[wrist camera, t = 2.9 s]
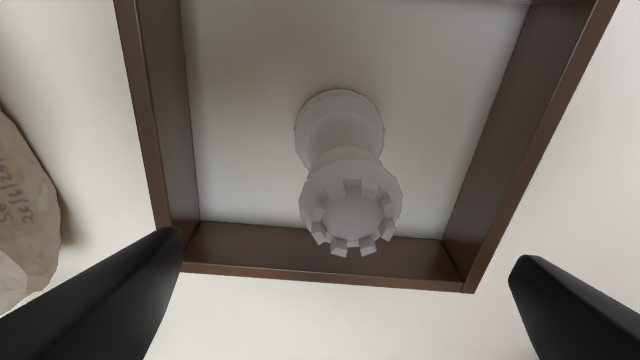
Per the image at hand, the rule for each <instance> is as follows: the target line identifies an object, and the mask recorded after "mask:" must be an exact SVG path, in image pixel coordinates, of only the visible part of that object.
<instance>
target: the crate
mask: <svg viewBox="0 0 640 360" xmlns="http://www.w3.org/2000/svg"><path fill="white" fill-rule="evenodd" d="M501 1H509V2H517V3H524V4H532V5H531V7H530V10H529V13H528V15H527V18H526V20H525V23H524V26H523V28H522V31H521V34H520V36H519V39H518V41H517V44H516V47H515V49H514V52H513V55H512V57H511V60H510V62H509V65H508V68H507V70H506V73H505V76H504V78H503V81H502V83H501V86H500V89H499V91H498V94H497V97H496V99H495V102H494V104H493V107H492V110H491V112H490V115H489V118H488V120H487V123H486V126H485V128H484V131H483V133H482V136H481V139H480V141H479V144H478V147H477V149H476V152H475V154H474V157H473V160H472V162H471V165H470V168H469V170H468V173H467V175H466V178H465V181H464V183H463V186H462V189H461V191H460V194H459V196H458V199H457V202H456V204H455V207H454V210H453V212H452V215H451V218H450V220H449V223H448V225H447V228H446V231H445V233H444V236H443V239H442V241H439V240H427V239H415V238H403V237H392V238H391V239H390V241H389V242H388V241H386V240H384V239H382V238H381V237H379V238H378V239H377V240H376V241H374V242H375V246H376V250H377V251H376V252H374V253H371V254H368V255H365V256H363V257H362V255H361V251H360V247H347V254H346V257H342V256H338V255H334V254H331V250H330V243H327V242H323V243H322V244H320V245H318V244H317V242H316V240H315V239H314V237H313V236H312V234H311V232H310V231H309V230H306V229H294V228H282V227H270V226H258V225H245V224H233V223H221V222H209V221H201V222H200V213H199V203H198V193H197V183H196V173H195V163H194V153H193V143H192V133H191V123H190V113H189V103H188V93H187V83H186V73H185V63H184V53H183V43H182V33H181V23H180V13H179V3H178V0H113V3H114V8H115V13H116V19H117V24H118V29H119V34H120V40H121V45H122V50H123V56H124V61H125V66H126V72H127V77H128V82H129V88H130V93H131V98H132V104H133V109H134V114H135V120H136V125H137V130H138V136H139V141H140V146H141V151H142V157H143V162H144V167H145V173H146V178H147V183H148V189H149V194H150V199H151V205H152V210H153V215H154V221H155V226H156V230H157V229H159V228H161V227H164V226H168V227H178V228H180V229H181V231H182V236H183V243H184V250H185V257H184V261H183V264H182V267H181V270H180V272H184V273H197V274H211V275H225V276H238V277H252V278H266V279H279V280H293V281H306V282H320V283H334V284H347V285H361V286H375V287H388V288H402V289H416V290H429V291H443V292H456V293H459V292H460V293H466V294H474V293H475V291H476V289H477V287H478V285H479V283H480V281H481V279H482V277H483V275H484V273H485V271H486V269H487V267H488V265H489V263H490V261H491V259H492V257H493V255H494V253H495V251H496V249H497V247H498V245H499V243H500V241H501V239H502V237H503V234H504V232H505V230H506V228H507V226H508V224H509V222H510V220H511V218H512V216H513V214H514V212H515V210H516V208H517V206H518V204H519V202H520V200H521V198H522V196H523V194H524V192H525V190H526V188H527V186H528V184H529V182H530V180H531V178H532V176H533V174H534V172H535V170H536V168H537V166H538V164H539V162H540V160H541V158H542V156H543V154H544V152H545V150H546V148H547V146H548V144H549V142H550V140H551V138H552V136H553V134H554V132H555V130H556V128H557V126H558V124H559V122H560V120H561V118H562V116H563V114H564V112H565V110H566V108H567V106H568V104H569V102H570V100H571V98H572V96H573V94H574V92H575V90H576V88H577V86H578V84H579V82H580V80H581V78H582V76H583V74H584V72H585V70H586V68H587V66H588V64H589V62H590V60H591V58H592V56H593V54H594V52H595V50H596V48H597V46H598V44H599V42H600V40H601V38H602V36H603V34H604V32H605V30H606V28H607V26H608V24H609V22H610V20H611V18H612V16H613V14H614V12H615V10H616V8H617V6H618V4H619V2H620V0H501Z"/></svg>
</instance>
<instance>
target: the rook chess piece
mask: <svg viewBox="0 0 640 360" xmlns="http://www.w3.org/2000/svg"><path fill="white" fill-rule="evenodd" d="M294 132H295V134H294V136H295V146H296V152H297V153H298V155H299V157H300V159H301V161H302V162H303V164H304V166H305V167H306V168H307V169H308V170H310V172H309V175H308V177H307V181H306V182H305V184H304V187H303V189H302V192H301V195H300V197H299V209H300V217H301V219H302V220H303V222H304V223H305V225H306V227H307V228H308V230H309V231H310V232H311V234H312V236H313V237H314V239H315V240H316V242H317V244H318V245H320V244H322V243H323V242H327V243H330V250H331V254H334V255H338V256H342V257H346V254H347V247H360V251H361V255H362V257H363V256H365V255H368V254H371V253H374V252H376V251H377V250H376V246H375V242H374V241H376V240H377V239H378V238H379V237H381V238H382V239H384V240H386V241H388V242H389V241H390V239H391V238H392V236H393V234H394V232H395V231H396V227H395V224H394V223H395V221H396V220H397V218H398V216H399V214H400V213H401V207H402V195H403V194H402V192H401V190H400V187H399V185H398V182H397V180H396V178H395V177H394V176H393V175H392V174H390V173H389V172H388V171H387V170H386V169H385V168H384V167H383V166H382V164H381V161H380V160H379V159H378V158H379V156H380V154H381V152H382V150H383V146H384V127H383V125H382V121H381V118H380V116H379V113H378V111H377V108H376V107H375V106H374V105H373V104H372V103H371V102H370V101H369V100H368V99H367V98H366V97H365V96H364V95H361V94H358V93H356V92H353V91H350V90H347V89H340V90H327V91H325V92H323V93H321V94H319V95H317V96H315V97H313V98H311V99H310V100H309V101H308V103H307V104H306V105H305V106H304V107H303V108H302V109H301V111H300V112H299V115H298V118H297V121H296V124H295V127H294Z"/></svg>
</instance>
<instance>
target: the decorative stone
mask: <svg viewBox="0 0 640 360" xmlns="http://www.w3.org/2000/svg"><path fill="white" fill-rule="evenodd" d="M56 192H57V191H56V189H55V187H54V185H53V183H52V182H51V180H50V178H49V177H48V175H47V174H46V173H45V171H44V170H43V169H42V167H41V165H40V163H39V161H38V160H37V158H36V157H35V155H34V154H33V152H32V151H31V150H30V148H29V146H28V144H27V143H26V141H25V140H24V138H23V137H22V135H21V133H20V132H19V130H18V128H17V127H16V125H15V124H14V123H13V122H12V121H11V120H10V119H9V118H8V117H7V116H6V115H5V114H4V113H3V112H2V111H1V108H0V315H2V314H4V313H5V312H7V311H9V310H11V309H12V308H13V307H14V306H15V305H16V304H17V303H19V302H20V301H21V300H22V299H23V298H25V297H27V296H28V295H30V294H32V293H33V292H36V291H41V290H43V289H44V288H45V287H46V286H47V285H48V284H49V282H50V280H51V277H52V276H53V274H54V273H55V272H56V268H57V265H58V255H59V251H60V247H61V244H62V240H61V236H60V219H61V216H60V208H59V205H58V201H57V196H56Z"/></svg>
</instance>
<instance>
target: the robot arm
mask: <svg viewBox="0 0 640 360" xmlns="http://www.w3.org/2000/svg"><path fill="white" fill-rule="evenodd" d="M184 257H185V250H184V243H183V236H182V231H181V229H180V228H178V227H168V226H164V227H161V228H159V229H157V230H156V231H154V232H152V233H150V234H149V235H147V236H145V237H143V238H141V239H140V240H138V241H136V242H134V243H133V244H131V245H129V246H127V247H126V248H124V249H122V250H120V251H118V252H117V253H115V254H113V255H111V256H110V257H108V258H106V259H104V260H103V261H101V262H99V263H97V264H95V265H94V266H92V267H90V268H88V269H87V270H85V271H83V272H81V273H80V274H78V275H76V276H74V277H73V278H71V279H69V280H67V281H65V282H64V283H62V284H60V285H58V286H57V287H55V288H53V289H51V290H50V291H48V292H46V293H44V294H42V295H41V296H39V297H37V298H35V299H34V300H32V301H30V302H28V303H27V304H25V305H23V306H21V307H19V308H18V309H16V310H14V311H12V312H11V313H9V314H7V315H5V316H3V317H2V318H0V360H143V359H144V357H145V355H146V353H147V351H148V349H149V346H150V344H151V342H152V340H153V338H154V336H155V334H156V332H157V330H158V328H159V326H160V324H161V321H162V319H163V317H164V314H165V312H166V309H167V306H168V304H169V301H170V298H171V295H172V292H173V290H174V287H175V284H176V281H177V278H178V275H179V273H180V270H181V267H182V264H183V261H184ZM508 284H509V287H510V290H511V292H512V295H513V298H514V300H515V303H516V305H517V308H518V310H519V313H520V316H521V318H522V321H523V323H524V326H525V328H526V331H527V333H528V336H529V338H530V341H531V343H532V345H533V347H534V349H535V351H536V353H537V355H538V357H539V359H540V360H640V314H638V313H637V312H635V311H633V310H631V309H630V308H628V307H626V306H624V305H623V304H621V303H619V302H618V301H616V300H614V299H612V298H611V297H609V296H607V295H606V294H604V293H602V292H600V291H599V290H597V289H595V288H593V287H592V286H590V285H588V284H587V283H585V282H583V281H581V280H580V279H578V278H576V277H574V276H573V275H571V274H569V273H568V272H566V271H564V270H562V269H561V268H559V267H557V266H555V265H554V264H552V263H550V262H549V261H547V260H545V259H543V258H542V257H539V256H535V255H522V256H521V257H519V259H518V260H517V262H516V264H515V266H514V268H513V269H512V271H511V273H510V275H509V278H508Z"/></svg>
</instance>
